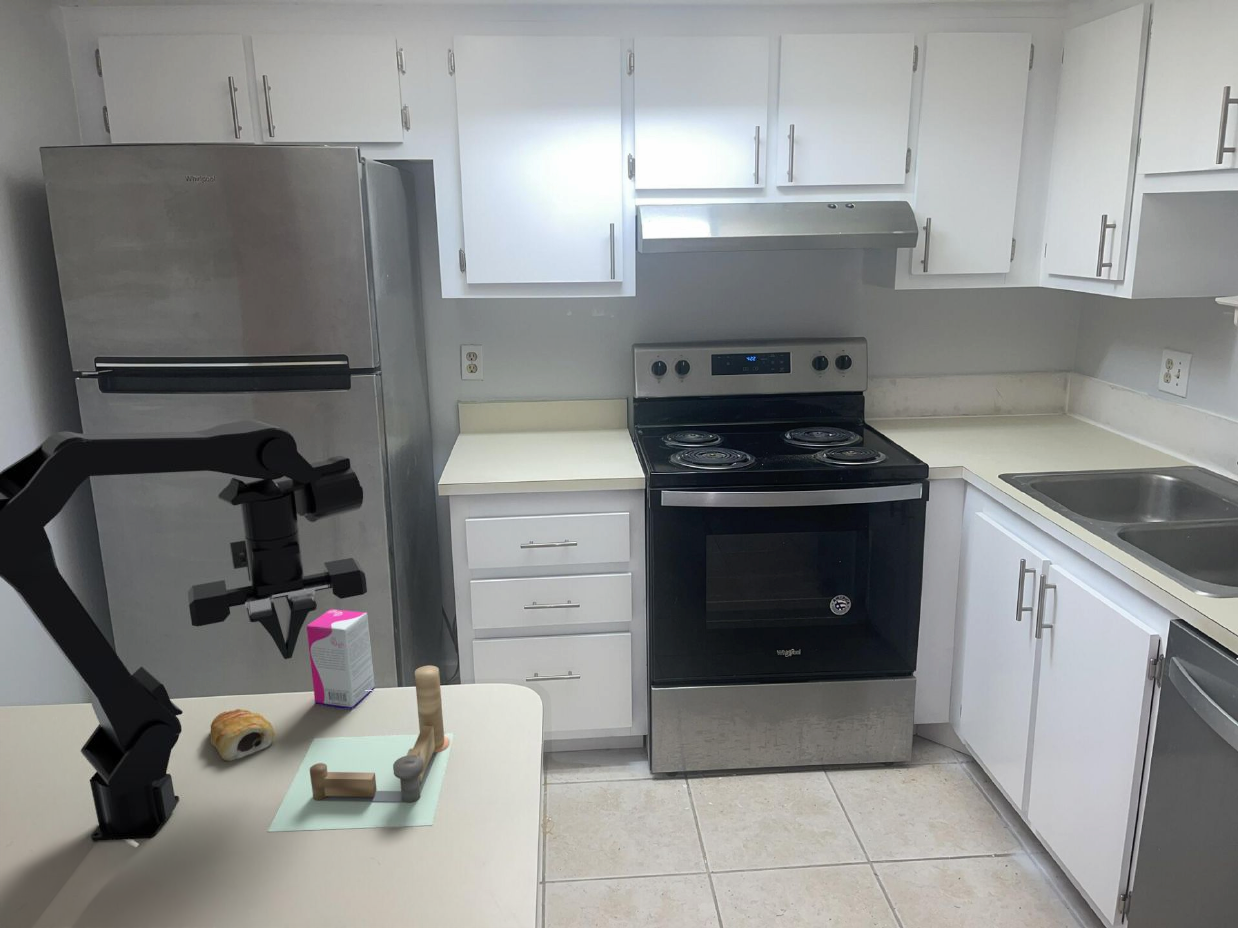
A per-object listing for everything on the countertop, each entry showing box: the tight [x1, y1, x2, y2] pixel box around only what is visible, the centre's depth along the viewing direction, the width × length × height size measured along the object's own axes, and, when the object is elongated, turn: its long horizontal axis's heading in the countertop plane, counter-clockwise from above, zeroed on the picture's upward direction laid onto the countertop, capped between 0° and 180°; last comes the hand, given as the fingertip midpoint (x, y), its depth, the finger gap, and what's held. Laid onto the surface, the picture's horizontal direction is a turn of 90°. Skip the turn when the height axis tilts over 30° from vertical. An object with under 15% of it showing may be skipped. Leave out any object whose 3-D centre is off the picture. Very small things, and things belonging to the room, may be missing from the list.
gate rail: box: [393, 665, 445, 783], centre depth 101 cm, size 13×3×10 cm, turn 178°
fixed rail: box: [310, 763, 421, 803], centre depth 97 cm, size 12×2×4 cm, turn 87°
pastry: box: [210, 708, 276, 762], centre depth 109 cm, size 9×7×4 cm
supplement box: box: [306, 608, 376, 710], centre depth 117 cm, size 6×6×12 cm
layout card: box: [267, 732, 455, 833], centre depth 101 cm, size 17×17×1 cm
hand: (287, 657), depth 104 cm, fingers closed
